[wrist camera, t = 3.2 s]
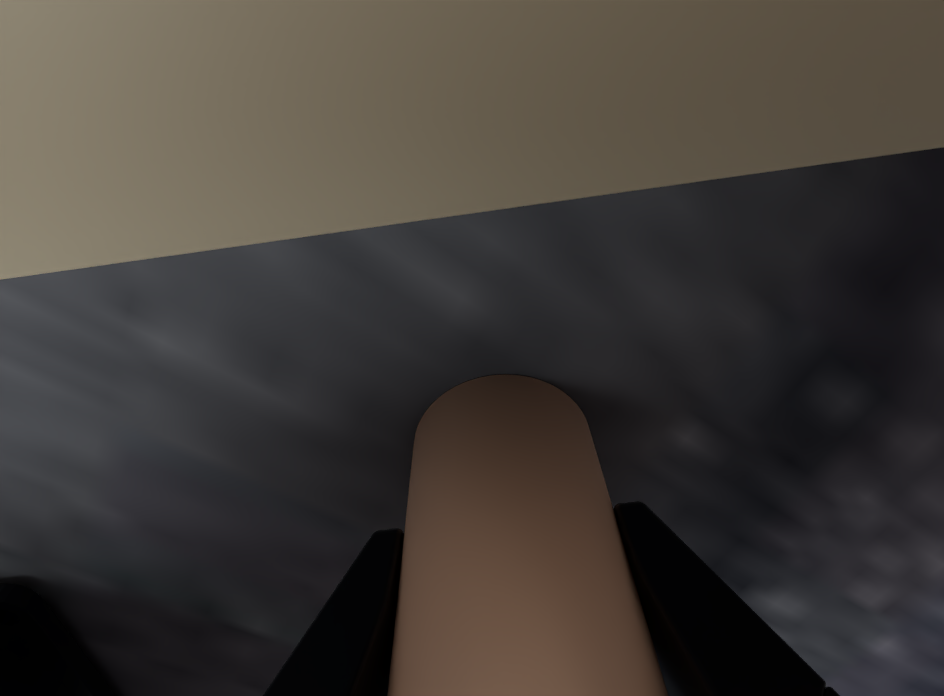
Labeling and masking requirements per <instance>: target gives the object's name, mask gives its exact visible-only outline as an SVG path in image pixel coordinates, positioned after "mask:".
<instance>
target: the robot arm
mask: <svg viewBox="0 0 944 696" xmlns="http://www.w3.org/2000/svg"><path fill="white" fill-rule="evenodd" d="M614 514H615V517H616V520H617V524H618V527H619V531H620V534H621V537H622V541H623V544H624V547H625V551H626V554H627V558H628V561H629V564H630V568H631V571H632V574H633V578H634V581H635V585H636V588H637V591H638V595H639V598H640V601H641V605H642V608H643V611H644V615H645V618H646V621H647V625H648V628H649V631H650V635H651V638H652V642H653V645H654V648H655V652H656V655H657V658H658V662H659V665H660V668H661V672H662V675H663V679H664V682H665V685H666V689H667V692H668V695H669V696H840V695H839V694H838V693H837V692H836V691H835V690H834V689H833V688H831V687H826V683H825V681H824V680H823V679H822V678H821V677H820V676H819V675H818V674H817V673H816V672H815V671H814V670H813V669H812V668H811V667H810V666H809V665H808V664H807V663H806V662H805V661H804V660H803V659H802V658H801V657H800V656H799V655H798V654H797V653H796V652H795V651H794V650H793V649H792V648H791V647H790V646H789V645H788V644H787V643H786V642H785V641H784V640H783V639H781V638H780V637H779V636H778V635H777V634H776V633H775V632H774V631H773V630H772V629H771V628H770V627H769V626H768V625H767V624H766V623H765V622H764V621H763V620H762V619H761V618H760V617H759V616H758V615H757V614H756V613H755V612H754V611H753V610H752V609H751V608H750V607H749V606H748V605H747V604H746V603H745V602H744V601H743V600H742V599H741V598H740V597H739V596H738V595H737V594H736V593H735V592H734V591H733V590H732V589H731V588H730V587H729V586H728V585H727V584H726V583H725V582H724V581H723V580H722V579H721V578H720V577H718V576H717V575H716V574H715V573H714V572H713V571H712V570H711V569H710V568H709V567H708V566H707V565H706V564H705V563H704V562H703V561H702V560H701V559H700V558H699V557H698V556H697V555H696V554H695V553H694V552H693V551H692V550H691V549H690V548H689V547H688V546H687V545H686V544H685V543H684V542H683V541H682V540H681V539H680V538H679V537H678V536H677V535H676V534H675V533H674V532H673V531H672V530H671V529H670V528H669V527H668V526H667V525H666V524H665V523H664V522H663V521H662V520H661V519H660V518H659V517H658V516H656V515H655V514H654V513H653V512H652V511H651V510H650V509H649V508H648V507H647V506H646V505H645V504H644V503H642V502H640V501H637V502H628V503H619V504H617V505H616V506H615V507H614ZM403 541H404V533H403V532H402V530H400V529H388V530H380V531H376V532H375V533H374V534H373V535H372V536H371V538H370V539H369V541H368V542H367V543H366V545H365V546H364V548H363V549H362V551H361V552H360V554H359V555H358V557H357V558H356V560H355V561H354V563H353V564H352V566H351V567H350V569H349V570H348V571H347V573H346V574H345V576H344V577H343V579H342V580H341V582H340V583H339V585H338V586H337V588H336V589H335V591H334V592H333V594H332V595H331V596H330V598H329V599H328V601H327V602H326V604H325V605H324V607H323V608H322V610H321V611H320V613H319V614H318V616H317V617H316V619H315V620H314V621H313V623H312V624H311V626H310V627H309V629H308V630H307V632H306V633H305V635H304V636H303V638H302V639H301V641H300V642H299V644H298V645H297V647H296V648H295V649H294V651H293V652H292V654H291V655H290V657H289V658H288V660H287V661H286V663H285V664H284V666H283V667H282V669H281V670H280V672H279V673H278V674H277V676H276V677H275V679H274V680H273V682H272V683H271V685H270V686H269V688H268V689H267V691H266V692H265V694H264V695H263V696H387V693H388V684H389V674H390V665H391V655H392V646H393V636H394V627H395V617H396V608H397V598H398V589H399V579H400V569H401V560H402V550H403ZM825 688H826V689H825ZM0 696H115V695H114V693H113V692H112V691H111V689H110V688H109V687H108V685H107V684H106V683H105V681H104V680H103V679H102V677H101V676H100V675H99V673H98V672H97V671H96V669H95V668H94V667H93V665H92V664H91V663H90V661H89V660H88V659H87V657H86V656H85V655H84V653H83V652H82V651H81V649H80V648H79V647H78V645H77V644H76V643H75V641H74V640H73V639H72V637H71V636H70V635H69V633H68V632H67V631H66V629H65V628H64V627H63V625H62V624H61V623H60V621H59V620H58V619H57V617H56V616H55V615H54V613H53V612H52V611H51V609H50V608H49V607H48V605H47V604H46V603H45V601H44V600H43V599H42V597H40V596H39V595H38V594H37V593H36V592H35V591H33V590H31V589H29V588H27V587H24V586H20V585H16V584H3V585H0Z"/></svg>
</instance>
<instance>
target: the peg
mask: <svg viewBox="0 0 944 696" xmlns="http://www.w3.org/2000/svg"><path fill="white" fill-rule="evenodd" d="M387 696H669V695H668V692H667V689H666V685H665V682H664V679H663V675H662V672H661V668H660V665H659V662H658V658H657V655H656V652H655V648H654V645H653V642H652V638H651V635H650V631H649V628H648V625H647V621H646V618H645V615H644V611H643V608H642V605H641V601H640V598H639V595H638V591H637V588H636V585H635V581H634V578H633V574H632V571H631V568H630V564H629V561H628V558H627V554H626V551H625V547H624V544H623V541H622V537H621V534H620V531H619V527H618V524H617V520H616V517H615V514H614V510H613V507H612V503H611V500H610V497H609V493H608V490H607V486H606V483H605V480H604V476H603V473H602V470H601V466H600V463H599V459H598V456H597V453H596V449H595V446H594V443H593V439H592V436H591V432H590V429H589V426H588V423H587V420H586V418H585V416H584V414H583V412H582V411H581V409H580V408H579V407H578V405H577V404H576V403H575V402H574V401H573V400H572V399H571V398H570V397H569V396H568V395H567V394H565V393H564V392H563V391H561V390H560V389H558V388H556V387H555V386H553V385H551V384H549V383H546V382H544V381H541V380H538V379H535V378H531V377H526V376H520V375H505V374H504V375H491V376H485V377H480V378H476V379H473V380H470V381H467V382H464V383H462V384H460V385H457V386H455V387H454V388H452V389H450V390H449V391H447V392H445V393H444V394H443V395H441V396H440V397H439V398H438V399H437V400H436V401H434V402H433V403H432V404H431V405H430V407H429V408H428V409H427V411H426V412H425V413H424V415H423V416H422V418H421V420H420V422H419V424H418V427H417V430H416V433H415V438H414V445H413V455H412V465H411V474H410V484H409V493H408V503H407V512H406V522H405V531H404V541H403V550H402V560H401V569H400V579H399V589H398V598H397V608H396V617H395V627H394V636H393V646H392V655H391V665H390V674H389V684H388V693H387Z"/></svg>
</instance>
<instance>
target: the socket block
mask: <svg viewBox="0 0 944 696" xmlns="http://www.w3.org/2000/svg"><path fill="white" fill-rule="evenodd" d="M942 147H944V0H0V279H8V278H15V277H22V276H29V275H36V274H43V273H50V272H57V271H65V270H72V269H79V268H86V267H93V266H100V265H107V264H114V263H122V262H129V261H136V260H143V259H150V258H157V257H164V256H172V255H179V254H186V253H193V252H200V251H207V250H214V249H221V248H229V247H236V246H243V245H250V244H257V243H264V242H271V241H278V240H286V239H293V238H300V237H307V236H314V235H321V234H328V233H335V232H343V231H350V230H357V229H364V228H371V227H378V226H385V225H393V224H400V223H407V222H414V221H421V220H428V219H435V218H442V217H450V216H457V215H464V214H471V213H478V212H485V211H492V210H499V209H507V208H514V207H521V206H528V205H535V204H542V203H549V202H557V201H564V200H571V199H578V198H585V197H592V196H599V195H606V194H614V193H621V192H628V191H635V190H642V189H649V188H656V187H663V186H671V185H678V184H685V183H692V182H699V181H706V180H713V179H721V178H728V177H735V176H742V175H749V174H756V173H763V172H770V171H778V170H785V169H792V168H799V167H806V166H813V165H820V164H827V163H835V162H842V161H849V160H856V159H863V158H870V157H877V156H884V155H892V154H899V153H906V152H913V151H920V150H927V149H934V148H942Z"/></svg>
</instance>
